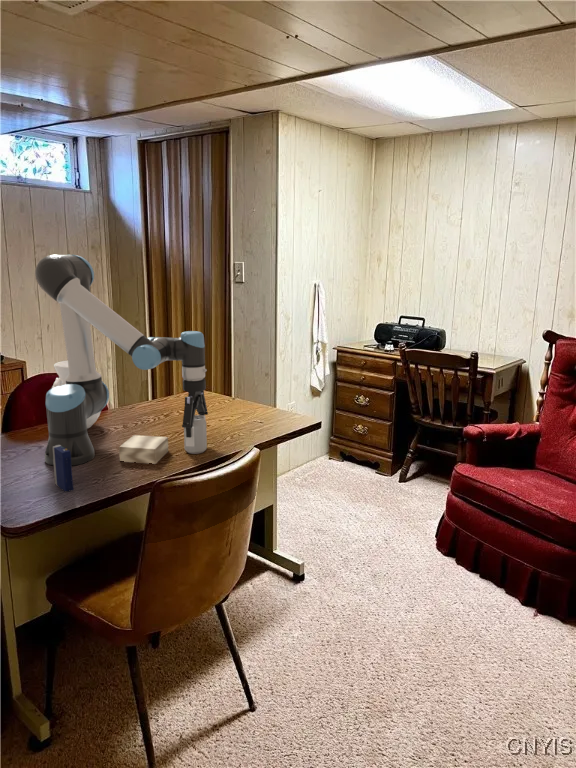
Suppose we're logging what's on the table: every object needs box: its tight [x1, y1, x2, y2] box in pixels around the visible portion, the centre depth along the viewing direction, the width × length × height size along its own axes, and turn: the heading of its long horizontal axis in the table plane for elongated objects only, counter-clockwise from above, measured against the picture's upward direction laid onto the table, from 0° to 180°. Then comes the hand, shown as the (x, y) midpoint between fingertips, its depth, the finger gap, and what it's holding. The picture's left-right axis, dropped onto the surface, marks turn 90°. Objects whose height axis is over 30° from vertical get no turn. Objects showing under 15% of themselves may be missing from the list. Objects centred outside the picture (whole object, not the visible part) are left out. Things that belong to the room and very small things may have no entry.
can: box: [183, 414, 208, 455], centre depth 192 cm, size 8×8×12 cm
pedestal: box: [118, 434, 169, 465], centre depth 187 cm, size 12×12×5 cm
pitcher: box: [51, 360, 102, 429], centre depth 215 cm, size 19×18×25 cm
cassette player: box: [53, 445, 74, 492], centre depth 161 cm, size 7×2×12 cm, turn 43°
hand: (196, 439), depth 193 cm, fingers open, 13 cm apart
